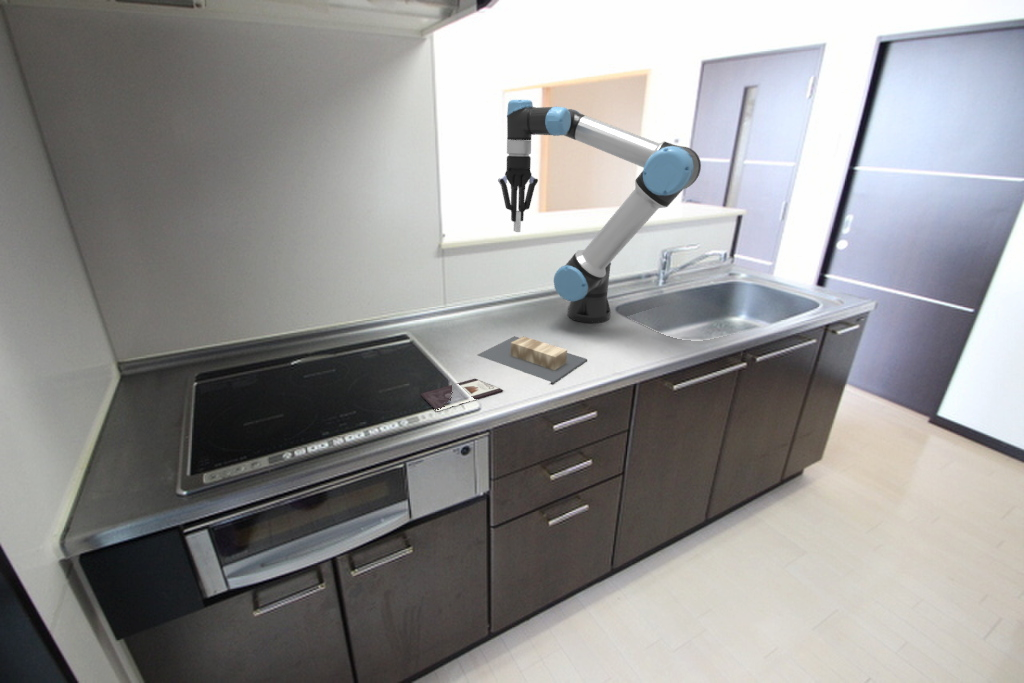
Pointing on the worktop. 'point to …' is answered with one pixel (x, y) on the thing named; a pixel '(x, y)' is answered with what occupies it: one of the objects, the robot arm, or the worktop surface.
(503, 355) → the rubber mat
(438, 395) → the chocolate bar
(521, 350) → the wooden block
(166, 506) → the worktop surface
